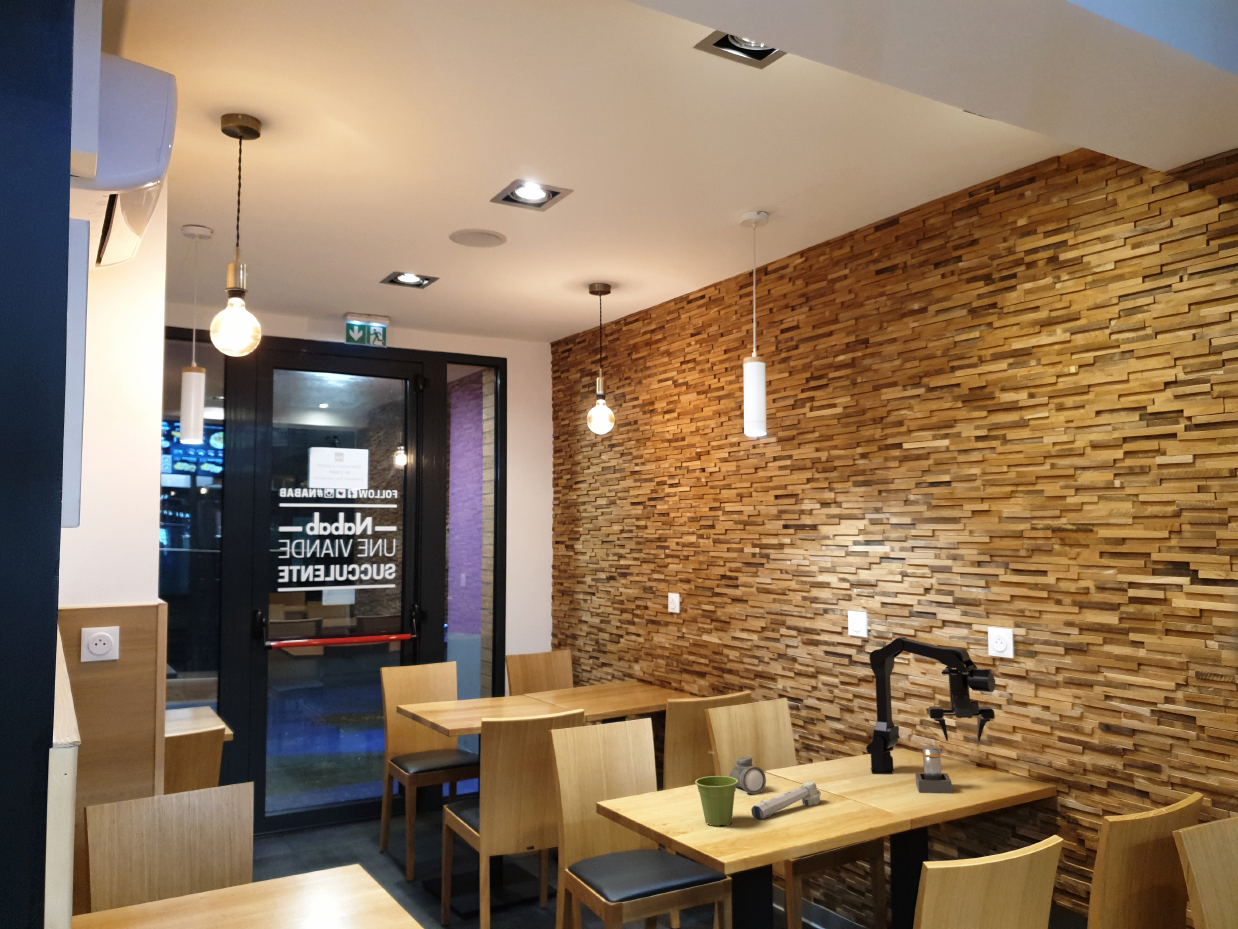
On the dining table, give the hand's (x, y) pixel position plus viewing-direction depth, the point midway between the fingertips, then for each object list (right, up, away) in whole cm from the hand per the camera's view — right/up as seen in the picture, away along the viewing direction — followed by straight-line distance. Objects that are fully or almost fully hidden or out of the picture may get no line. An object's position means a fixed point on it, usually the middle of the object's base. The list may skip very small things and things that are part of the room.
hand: (962, 741), depth 282 cm
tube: (-11, -13, -5) cm, 17 cm away
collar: (-11, -13, -5) cm, 17 cm away
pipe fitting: (-66, -16, +2) cm, 68 cm away
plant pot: (-78, -14, -30) cm, 85 cm away
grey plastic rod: (-58, -14, -21) cm, 63 cm away
